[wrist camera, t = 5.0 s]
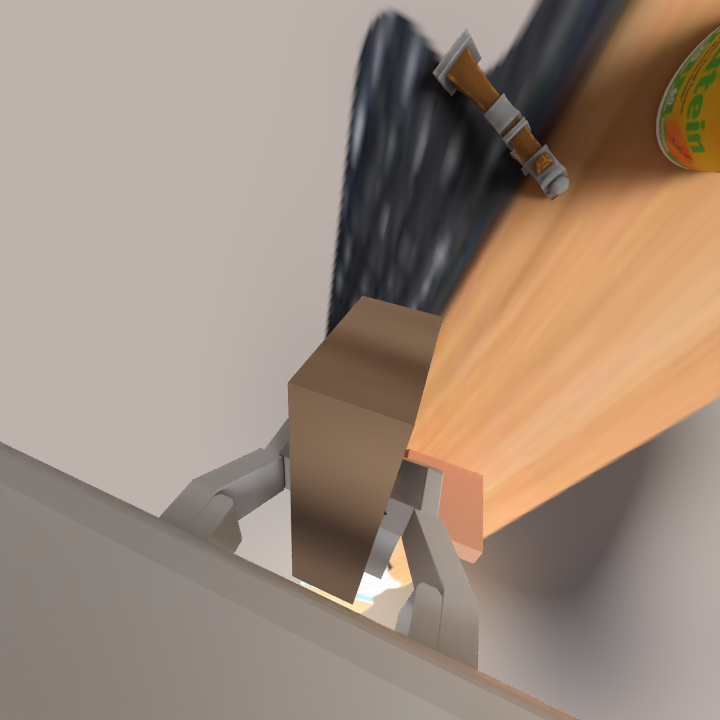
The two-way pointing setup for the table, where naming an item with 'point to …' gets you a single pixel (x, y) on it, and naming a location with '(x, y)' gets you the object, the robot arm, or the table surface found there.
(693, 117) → the supplement bottle
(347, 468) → the brown bar with plate
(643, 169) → the table surface
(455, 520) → the tile
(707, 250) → the table surface
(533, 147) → the wooden post with brackets
